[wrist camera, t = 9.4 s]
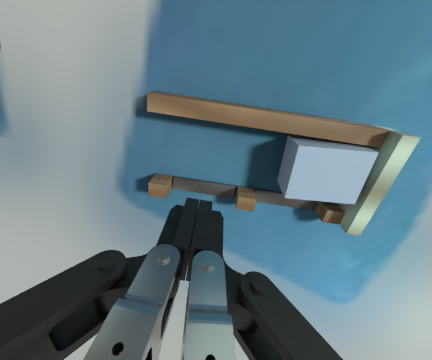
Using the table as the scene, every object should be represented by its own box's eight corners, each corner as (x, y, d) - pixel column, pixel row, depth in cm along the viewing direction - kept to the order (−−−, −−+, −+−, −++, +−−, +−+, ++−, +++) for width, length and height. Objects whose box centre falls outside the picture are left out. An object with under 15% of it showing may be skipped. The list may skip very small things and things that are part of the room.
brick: (287, 134, 21) (298, 145, 18) (353, 140, 21) (378, 152, 18) (276, 180, 24) (284, 198, 20) (336, 185, 24) (354, 204, 20)
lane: (156, 90, 20) (140, 93, 16) (387, 127, 20) (420, 137, 17) (155, 184, 25) (143, 202, 21) (341, 213, 25) (359, 235, 22)
